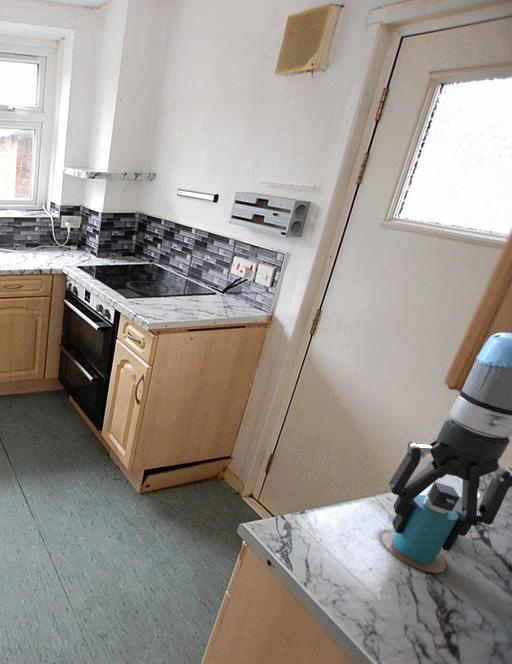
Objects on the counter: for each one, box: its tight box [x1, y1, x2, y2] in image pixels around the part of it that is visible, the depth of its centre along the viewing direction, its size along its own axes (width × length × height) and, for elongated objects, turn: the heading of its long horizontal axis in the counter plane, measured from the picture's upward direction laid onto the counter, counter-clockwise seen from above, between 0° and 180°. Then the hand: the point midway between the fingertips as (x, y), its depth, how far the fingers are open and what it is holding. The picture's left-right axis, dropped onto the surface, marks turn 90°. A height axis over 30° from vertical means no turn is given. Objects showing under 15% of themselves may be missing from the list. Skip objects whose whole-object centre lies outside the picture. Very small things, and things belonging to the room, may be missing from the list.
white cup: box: [419, 474, 481, 514], centre depth 88 cm, size 8×8×10 cm
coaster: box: [381, 531, 447, 574], centre depth 83 cm, size 9×9×1 cm
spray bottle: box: [392, 482, 459, 564], centre depth 80 cm, size 7×6×14 cm
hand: (419, 536), depth 82 cm, fingers closed on spray bottle, 6 cm apart
